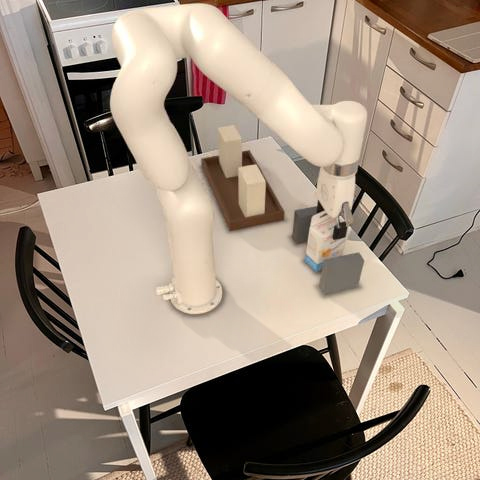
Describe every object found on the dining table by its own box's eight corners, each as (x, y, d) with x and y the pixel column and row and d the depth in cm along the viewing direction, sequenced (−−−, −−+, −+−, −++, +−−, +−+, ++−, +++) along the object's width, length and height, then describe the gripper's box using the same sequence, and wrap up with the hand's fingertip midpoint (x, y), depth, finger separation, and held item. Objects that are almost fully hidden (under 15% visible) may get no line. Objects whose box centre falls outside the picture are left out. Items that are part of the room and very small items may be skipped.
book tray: (229, 231, 136) (229, 222, 134) (201, 166, 156) (201, 158, 153) (283, 220, 139) (284, 211, 137) (249, 158, 159) (249, 150, 156)
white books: (247, 221, 137) (247, 184, 128) (219, 163, 155) (217, 127, 146) (264, 218, 138) (265, 181, 129) (234, 160, 156) (234, 124, 147)
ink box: (316, 273, 126) (323, 227, 115) (304, 261, 129) (310, 216, 117) (342, 260, 129) (352, 214, 118) (329, 249, 132) (338, 203, 120)
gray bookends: (323, 295, 121) (328, 268, 115) (291, 237, 135) (294, 210, 128) (357, 287, 123) (364, 260, 116) (322, 230, 136) (327, 203, 130)
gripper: (308, 144, 111) (302, 206, 125) (340, 189, 101) (330, 252, 114) (340, 138, 113) (330, 200, 126) (374, 182, 102) (360, 245, 115)
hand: (330, 225), depth 120 cm, fingers open, 9 cm apart
